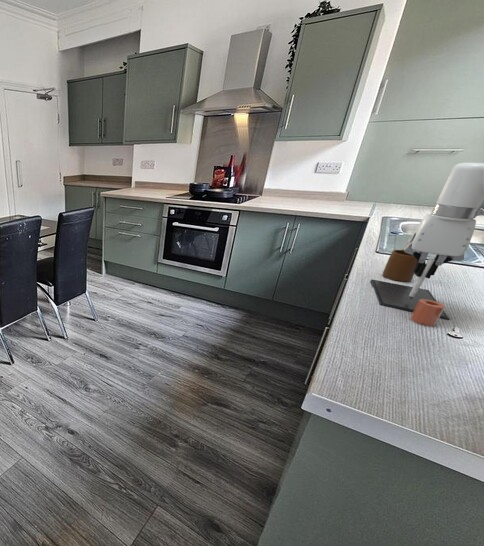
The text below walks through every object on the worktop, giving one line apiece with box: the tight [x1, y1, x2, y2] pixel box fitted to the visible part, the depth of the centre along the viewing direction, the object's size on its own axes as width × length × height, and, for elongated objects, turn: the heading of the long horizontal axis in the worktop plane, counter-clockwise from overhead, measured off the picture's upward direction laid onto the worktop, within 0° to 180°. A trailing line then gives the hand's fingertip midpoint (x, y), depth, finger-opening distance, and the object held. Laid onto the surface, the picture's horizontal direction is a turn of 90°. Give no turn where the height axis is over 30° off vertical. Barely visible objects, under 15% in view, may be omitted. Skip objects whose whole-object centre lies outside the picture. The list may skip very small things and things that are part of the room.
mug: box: [382, 248, 418, 283], centre depth 111 cm, size 12×8×9 cm, turn 141°
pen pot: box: [409, 299, 446, 327], centre depth 82 cm, size 5×5×6 cm
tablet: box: [370, 278, 451, 321], centre depth 96 cm, size 14×22×1 cm, turn 144°
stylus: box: [409, 257, 434, 299], centre depth 89 cm, size 1×1×13 cm
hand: (421, 275), depth 89 cm, fingers closed on stylus, 1 cm apart
